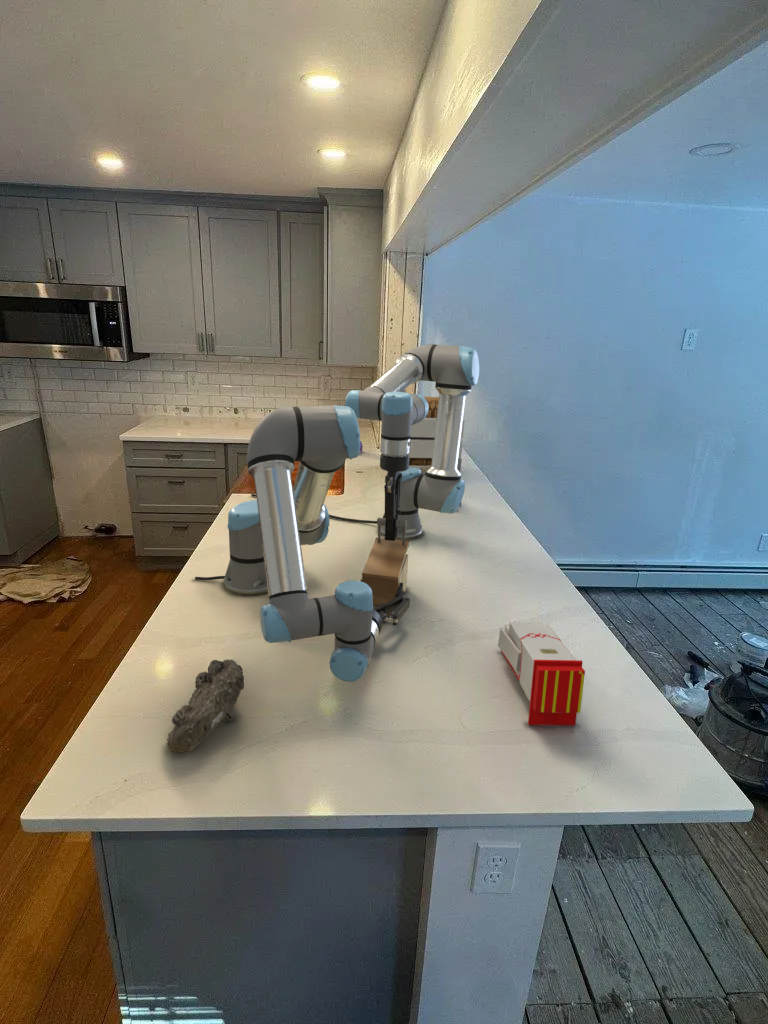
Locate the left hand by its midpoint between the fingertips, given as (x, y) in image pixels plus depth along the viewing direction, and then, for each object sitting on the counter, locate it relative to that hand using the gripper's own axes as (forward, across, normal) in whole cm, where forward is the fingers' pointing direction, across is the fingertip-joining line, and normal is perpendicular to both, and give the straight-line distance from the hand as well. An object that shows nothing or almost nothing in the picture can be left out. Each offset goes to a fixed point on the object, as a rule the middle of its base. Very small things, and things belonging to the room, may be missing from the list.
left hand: (382, 585), depth 148 cm
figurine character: (+89, +11, -7) cm, 90 cm away
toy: (-23, +38, -7) cm, 45 cm away
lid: (+5, 0, +5) cm, 7 cm away
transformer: (+134, -8, -7) cm, 134 cm away
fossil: (-49, -23, -7) cm, 55 cm away
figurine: (+162, -47, -7) cm, 168 cm away
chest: (+4, 0, -7) cm, 8 cm away
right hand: (+10, 0, +9) cm, 14 cm away
